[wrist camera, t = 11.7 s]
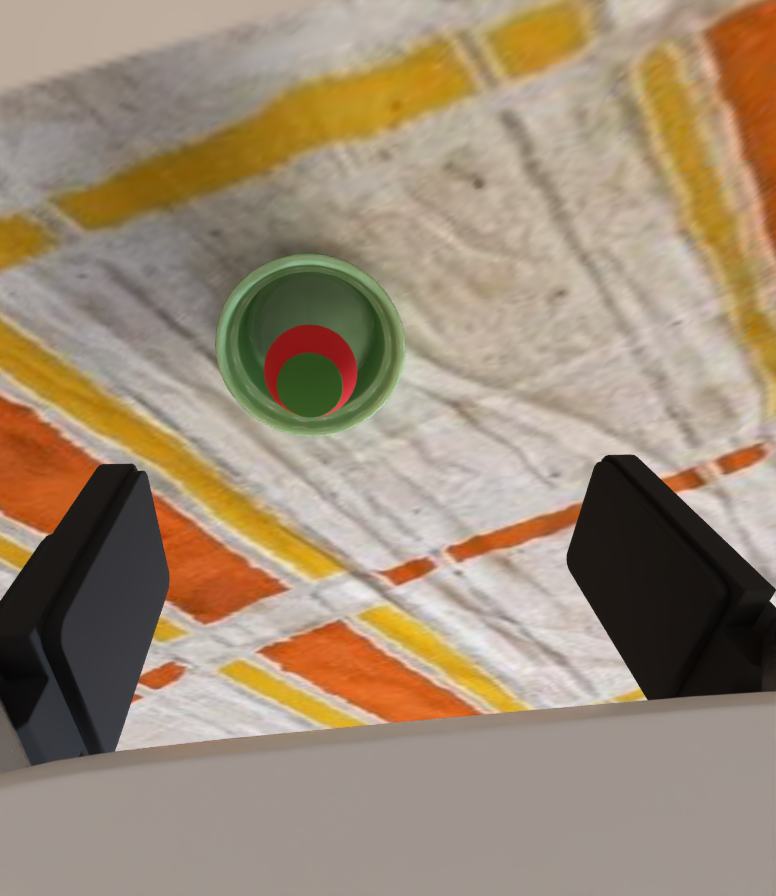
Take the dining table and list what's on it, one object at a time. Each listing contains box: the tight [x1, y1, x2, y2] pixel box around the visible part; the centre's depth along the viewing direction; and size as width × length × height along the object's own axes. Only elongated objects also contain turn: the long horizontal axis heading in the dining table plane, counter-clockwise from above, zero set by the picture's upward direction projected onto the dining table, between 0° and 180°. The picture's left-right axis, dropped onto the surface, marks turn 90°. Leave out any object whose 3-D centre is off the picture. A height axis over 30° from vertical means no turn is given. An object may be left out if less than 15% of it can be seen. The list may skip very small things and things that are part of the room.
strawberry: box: [264, 325, 357, 418], centre depth 22 cm, size 4×4×5 cm
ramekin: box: [215, 253, 405, 437], centre depth 26 cm, size 9×9×4 cm
